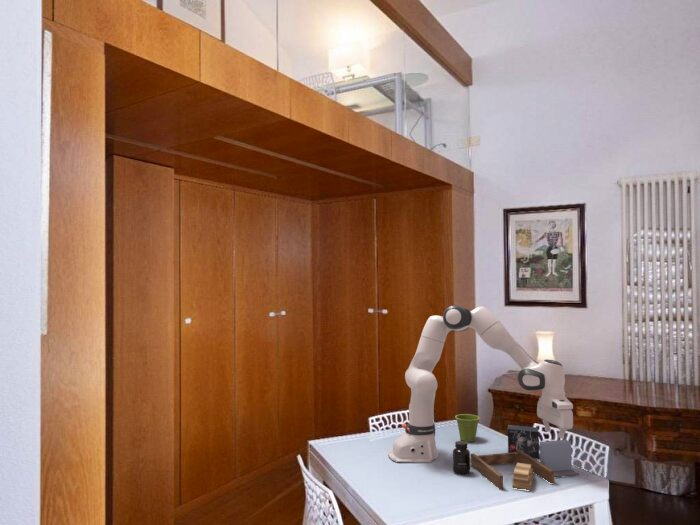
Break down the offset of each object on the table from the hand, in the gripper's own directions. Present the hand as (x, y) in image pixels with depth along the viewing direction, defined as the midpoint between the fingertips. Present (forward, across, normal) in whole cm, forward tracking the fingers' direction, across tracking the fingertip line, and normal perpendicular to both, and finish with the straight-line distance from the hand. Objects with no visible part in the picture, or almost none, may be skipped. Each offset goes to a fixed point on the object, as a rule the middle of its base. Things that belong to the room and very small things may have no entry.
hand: (554, 434), depth 203 cm
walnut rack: (+15, -1, -19) cm, 24 cm away
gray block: (+14, 0, +1) cm, 14 cm away
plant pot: (+15, -47, -17) cm, 52 cm away
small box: (+15, -21, -2) cm, 26 cm away
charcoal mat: (+15, 0, +1) cm, 15 cm away
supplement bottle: (+16, -8, -37) cm, 41 cm away
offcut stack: (+15, +8, -19) cm, 26 cm away
